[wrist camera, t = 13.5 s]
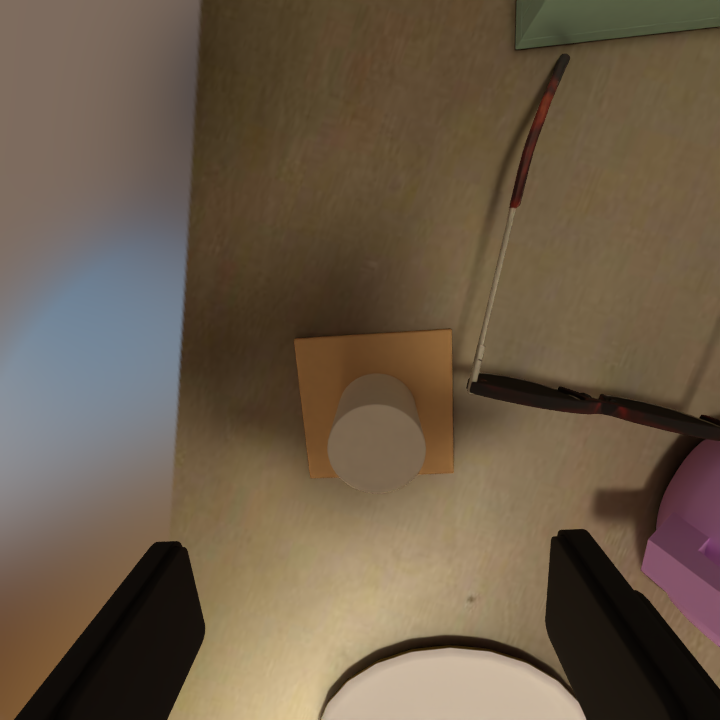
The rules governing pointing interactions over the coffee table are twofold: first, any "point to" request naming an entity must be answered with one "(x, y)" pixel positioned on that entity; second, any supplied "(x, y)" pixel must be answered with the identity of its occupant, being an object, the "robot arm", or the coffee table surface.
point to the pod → (376, 435)
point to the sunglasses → (563, 397)
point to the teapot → (690, 540)
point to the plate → (452, 689)
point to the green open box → (607, 19)
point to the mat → (383, 356)
